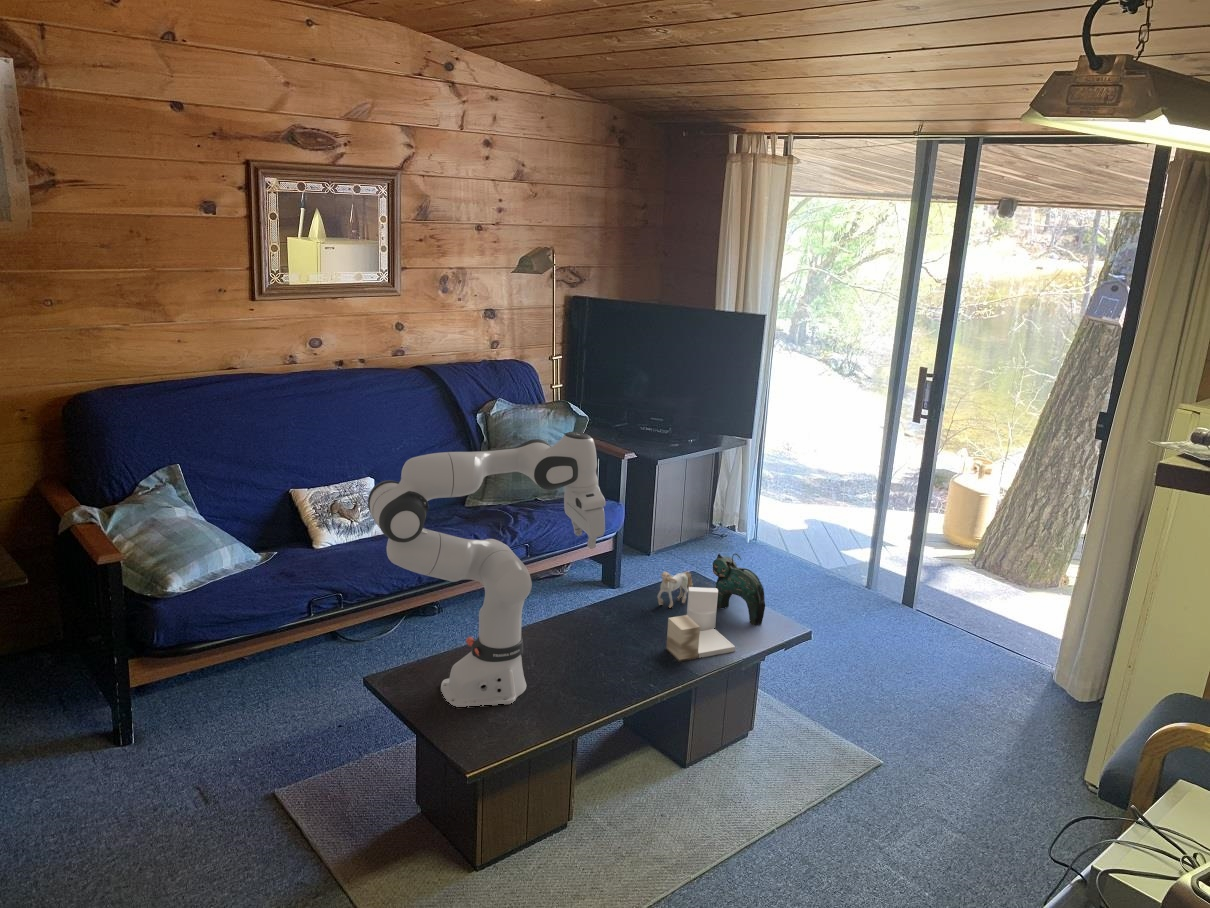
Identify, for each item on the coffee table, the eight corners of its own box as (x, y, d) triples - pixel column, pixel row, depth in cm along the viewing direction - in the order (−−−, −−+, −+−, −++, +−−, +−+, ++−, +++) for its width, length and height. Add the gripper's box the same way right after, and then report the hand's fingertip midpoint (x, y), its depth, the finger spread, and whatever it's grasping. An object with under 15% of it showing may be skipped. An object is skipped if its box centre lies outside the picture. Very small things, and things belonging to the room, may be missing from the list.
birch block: (679, 661, 272) (681, 630, 270) (666, 649, 279) (668, 617, 276) (697, 658, 275) (700, 626, 272) (684, 645, 282) (686, 614, 279)
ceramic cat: (707, 605, 309) (712, 547, 303) (721, 600, 313) (726, 543, 307) (754, 628, 294) (759, 568, 289) (768, 622, 298) (773, 563, 293)
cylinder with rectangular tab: (714, 619, 299) (716, 584, 296) (716, 632, 290) (719, 596, 287) (685, 618, 299) (687, 582, 296) (686, 631, 291) (689, 595, 287)
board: (698, 658, 275) (699, 653, 274) (679, 639, 285) (679, 634, 285) (734, 651, 280) (735, 646, 279) (714, 633, 290) (714, 628, 290)
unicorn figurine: (647, 614, 301) (649, 575, 297) (674, 592, 317) (677, 555, 313) (667, 620, 297) (670, 580, 294) (694, 598, 314) (697, 560, 310)
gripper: (556, 482, 257) (560, 529, 261) (585, 507, 239) (588, 557, 243) (578, 478, 259) (581, 525, 264) (608, 502, 241) (610, 552, 246)
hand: (584, 541), depth 253 cm, fingers open, 8 cm apart
